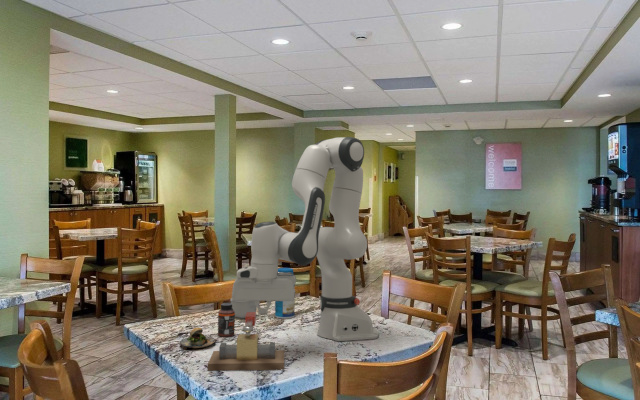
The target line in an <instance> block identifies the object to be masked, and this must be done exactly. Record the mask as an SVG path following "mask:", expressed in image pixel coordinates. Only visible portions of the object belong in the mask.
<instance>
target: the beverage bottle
mask: <svg viewBox="0 0 640 400" xmlns="http://www.w3.org/2000/svg"><path fill="white" fill-rule="evenodd" d="M278 272H285V273H288V272H291V274H294V269H293V268H292V267H291V268H290V267H278ZM285 276H286V275H285ZM291 276H293V275H291ZM295 287H296V284H295V285H294V300H293V301H274V305H275V306H274V317H275V318H277V319H282V320H284V319H285V320H287V319H293V318H294V317H295V315H296V313H295V310H296V309H295V304H296V303H295V300H296V299H295V297H296V289H295Z"/></svg>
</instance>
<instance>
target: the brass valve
mask: <svg viewBox="0 0 640 400" xmlns="http://www.w3.org/2000/svg"><path fill="white" fill-rule="evenodd" d="M218 347H219V350H218V351H219V359H237V360H257V358H269V359H275V350H276V342H274V341H271V342H269V344H265V343H264V344H259V333H252V334H251V332H245V333H243V334H242V333H241V334H238V336H237V337H236V344H227V342H221V343H220V345H219V346H218Z"/></svg>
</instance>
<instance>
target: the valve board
mask: <svg viewBox="0 0 640 400" xmlns="http://www.w3.org/2000/svg"><path fill="white" fill-rule="evenodd" d="M211 353H212V354H211V356H210V358H209V361H208V363H207V371H208V372H210V371H212V372H213V371H219V372H220V371H222V372H224V371H226V372H227V371H282V370H281V369H284V370H285V350H284V349H282V350H281V349H280V350H279V349H278V350H277V349H275V359H269V358H257V360H237V359H219V350H213V352H211ZM276 369H277V370H276Z"/></svg>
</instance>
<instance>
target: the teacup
mask: <svg viewBox="0 0 640 400" xmlns="http://www.w3.org/2000/svg"><path fill="white" fill-rule="evenodd" d="M230 303H231V304H232V309H233V310H234V311H235V318H237V319H245V316H246V313H247V312H256V313H257V309H258V308H257V306H256V305H255V301H240V300H233V298H232V297H231V298H230Z"/></svg>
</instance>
